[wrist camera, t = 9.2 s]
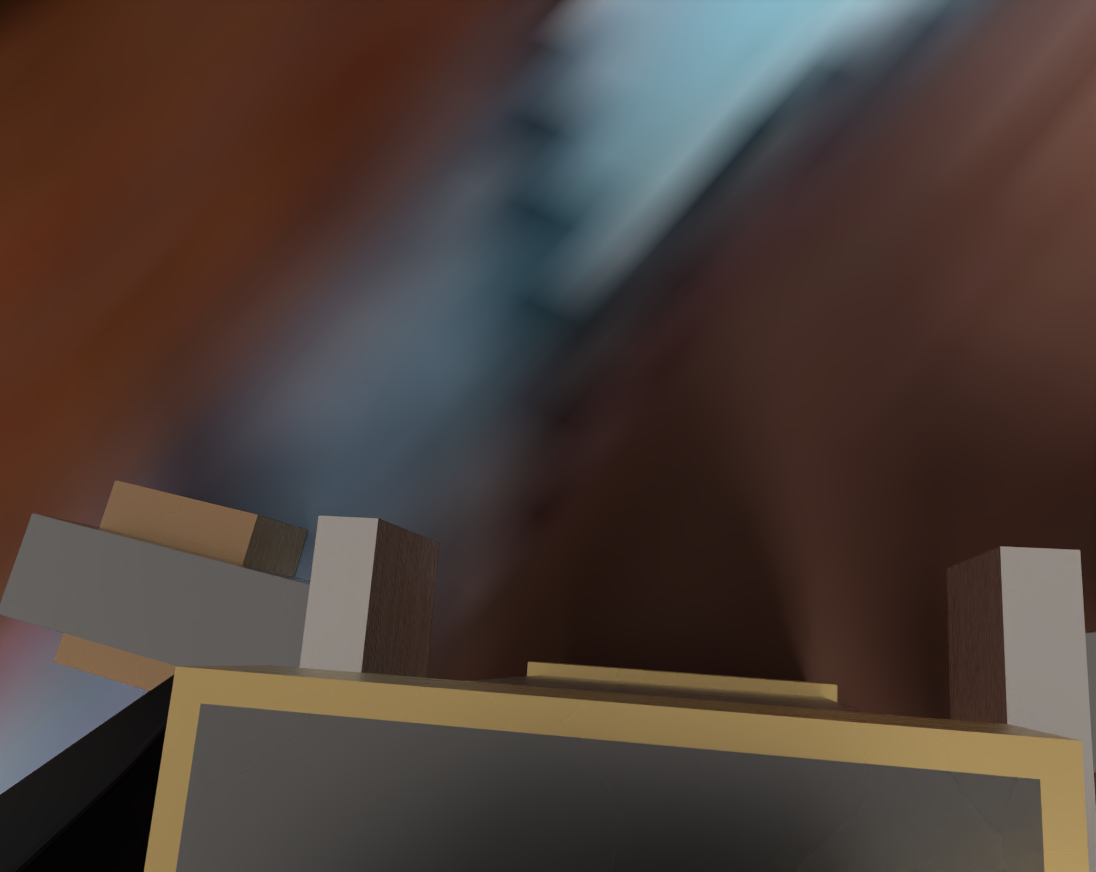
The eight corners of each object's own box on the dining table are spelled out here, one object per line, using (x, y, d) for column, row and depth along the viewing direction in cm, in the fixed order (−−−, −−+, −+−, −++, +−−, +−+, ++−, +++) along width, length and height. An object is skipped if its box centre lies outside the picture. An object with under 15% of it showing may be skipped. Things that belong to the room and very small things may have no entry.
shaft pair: (1416, 919, 15) (1728, 1036, 10) (106, 775, 19) (-84, 811, 15) (1369, 549, 16) (1623, 505, 11) (153, 497, 20) (-9, 452, 16)
